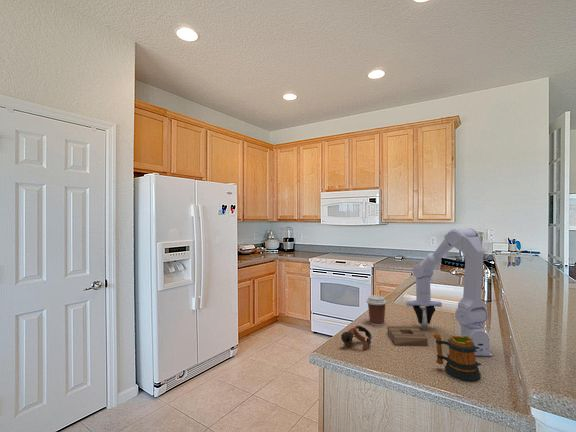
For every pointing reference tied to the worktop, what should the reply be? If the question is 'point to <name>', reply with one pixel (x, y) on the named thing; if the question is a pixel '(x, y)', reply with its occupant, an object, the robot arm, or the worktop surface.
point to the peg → (424, 318)
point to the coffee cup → (376, 309)
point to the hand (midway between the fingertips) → (424, 323)
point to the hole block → (407, 335)
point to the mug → (459, 358)
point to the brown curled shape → (357, 336)
